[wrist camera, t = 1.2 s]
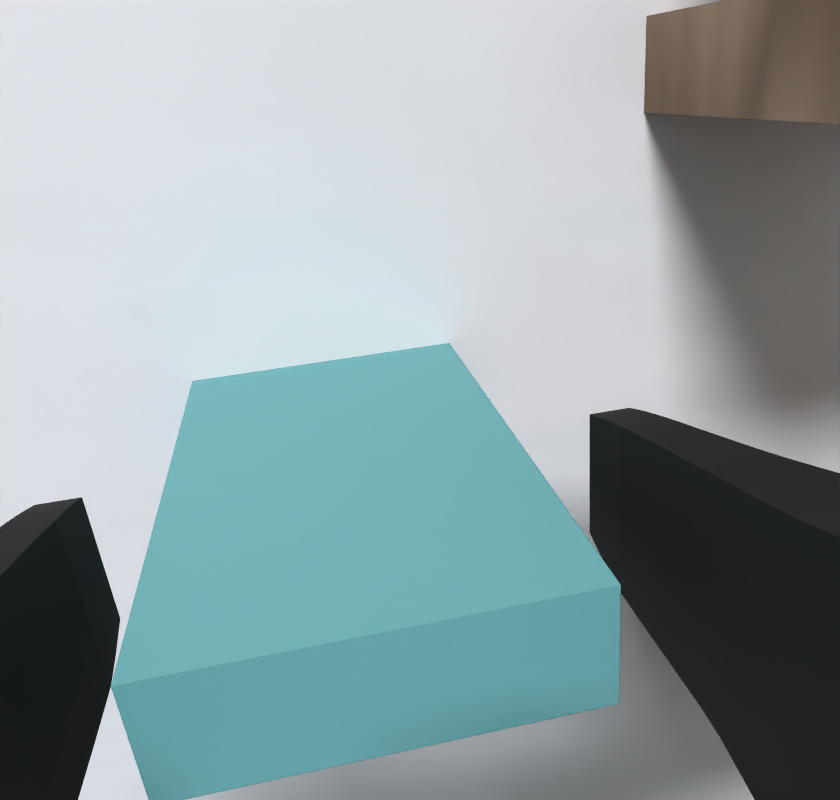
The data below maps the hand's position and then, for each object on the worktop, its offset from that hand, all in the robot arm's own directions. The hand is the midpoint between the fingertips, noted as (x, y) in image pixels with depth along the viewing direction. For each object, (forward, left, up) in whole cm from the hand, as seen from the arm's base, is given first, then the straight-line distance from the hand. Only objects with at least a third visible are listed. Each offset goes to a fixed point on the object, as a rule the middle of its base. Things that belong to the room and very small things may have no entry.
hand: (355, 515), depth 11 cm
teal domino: (0, 0, -5) cm, 5 cm away
